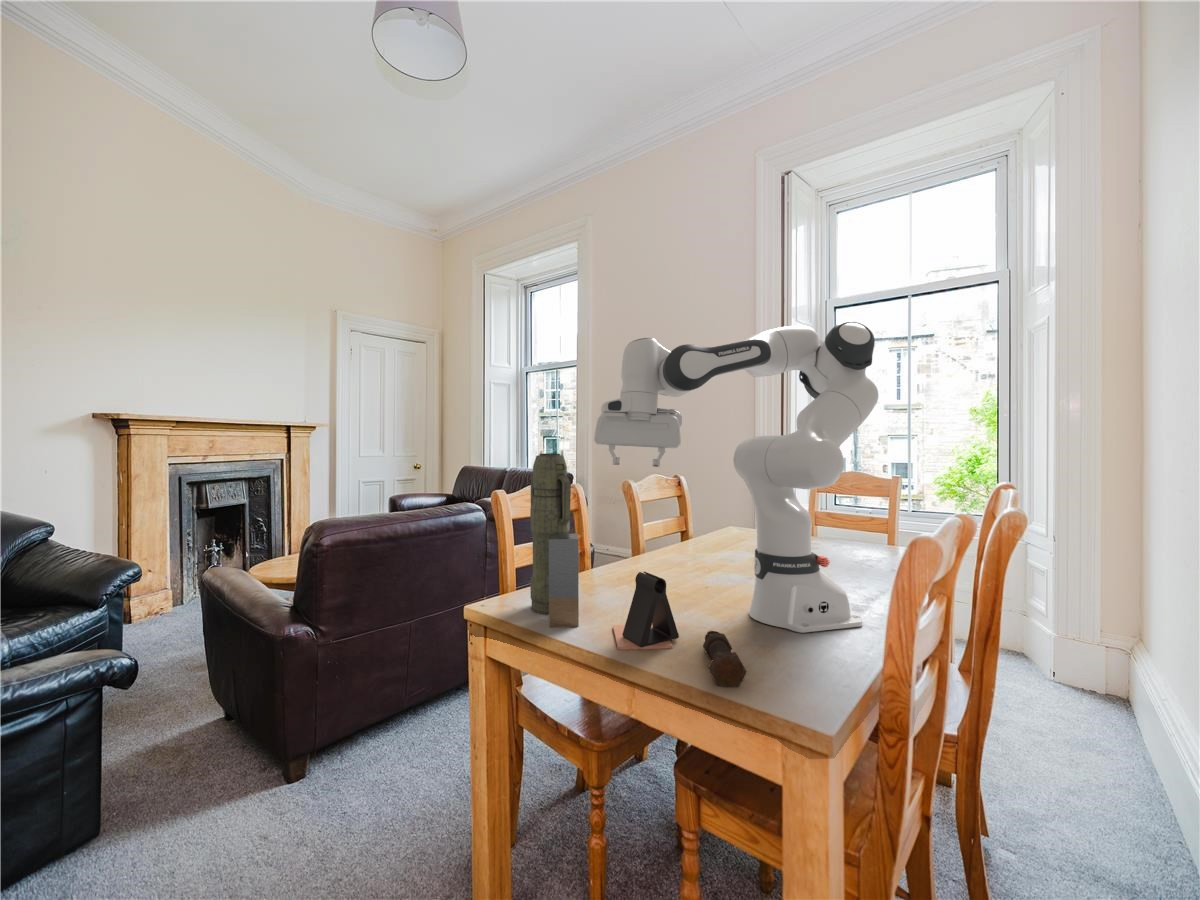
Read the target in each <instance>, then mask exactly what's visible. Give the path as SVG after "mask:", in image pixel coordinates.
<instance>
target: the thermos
mask: <svg viewBox="0 0 1200 900" xmlns="http://www.w3.org/2000/svg"><path fill="white" fill-rule="evenodd" d="M571 487H572V482H571V480H570V478H569V476H568V467H567V463H566V459H565V456H564V455H563V454H561V453H539V454H538V455H536V456H535V459H534V462H533V466H532V475H531V477H530V509H529V510H530V514H529V515H530V532H531V535H532V575H531V578H530V587H529V588H530V600H531V607H530V608H531V609H532V610H531V612H533V613H535V614H537V613H538V615H542V614H543V616H549V536H550V534H570V529H571V526H570V525H571V524H570V522H571V495H572V494H571V493H572V492H571V491H572V489H571Z"/></svg>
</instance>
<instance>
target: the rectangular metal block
mask: <svg viewBox="0 0 1200 900" xmlns="http://www.w3.org/2000/svg"><path fill="white" fill-rule="evenodd" d="M580 550H581V549H580V548H579V533H568V534H550V536H549V615H548V627H549V628H570V627H571V628H572V627H573V628H575V627H577V628H578V627H579V619H580V618H579V615H580V614H579V611H580V610H579V607H580V606H579V602H580V601H579V600H580V599H579V595H580V594H579V573H580V572H581V559H580V558H581V551H580Z"/></svg>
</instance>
